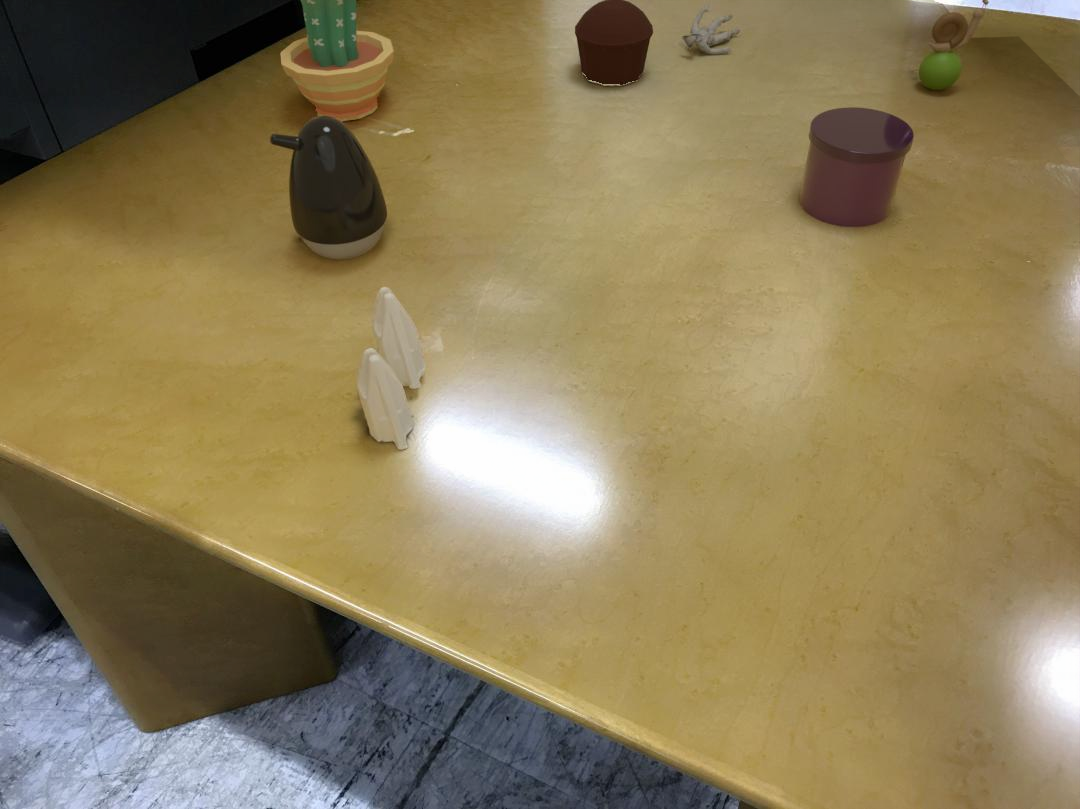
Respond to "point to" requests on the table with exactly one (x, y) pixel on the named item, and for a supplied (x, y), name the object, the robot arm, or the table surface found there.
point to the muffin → (613, 42)
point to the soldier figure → (709, 34)
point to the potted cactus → (337, 60)
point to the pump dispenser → (333, 190)
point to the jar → (853, 165)
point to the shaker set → (390, 371)
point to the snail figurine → (947, 49)
